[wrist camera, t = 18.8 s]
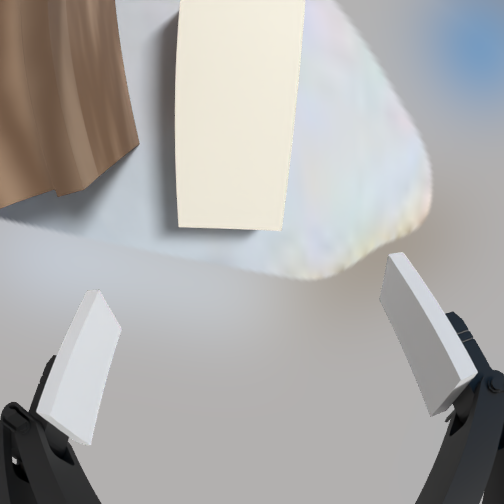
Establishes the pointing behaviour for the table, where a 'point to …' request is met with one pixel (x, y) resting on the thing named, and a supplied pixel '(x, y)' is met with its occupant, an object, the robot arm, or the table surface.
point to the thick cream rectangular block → (235, 110)
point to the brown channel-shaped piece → (60, 96)
